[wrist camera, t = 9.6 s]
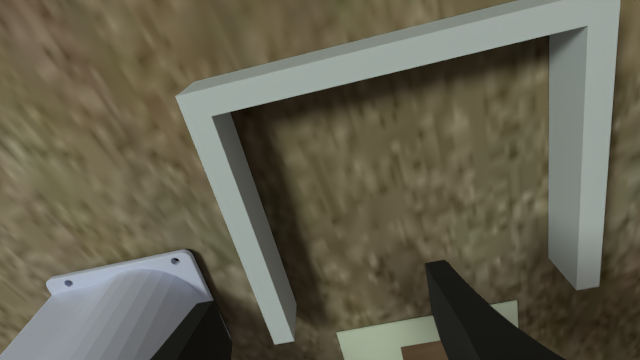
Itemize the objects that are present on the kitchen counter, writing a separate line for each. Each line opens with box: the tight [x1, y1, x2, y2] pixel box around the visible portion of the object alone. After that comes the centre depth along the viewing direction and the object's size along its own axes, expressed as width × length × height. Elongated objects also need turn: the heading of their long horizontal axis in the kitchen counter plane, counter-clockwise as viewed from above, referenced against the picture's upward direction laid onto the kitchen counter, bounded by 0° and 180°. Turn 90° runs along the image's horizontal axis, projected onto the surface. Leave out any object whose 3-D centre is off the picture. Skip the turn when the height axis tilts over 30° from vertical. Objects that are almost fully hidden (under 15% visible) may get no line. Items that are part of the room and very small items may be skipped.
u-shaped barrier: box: [175, 0, 620, 344], centre depth 21 cm, size 18×15×3 cm
